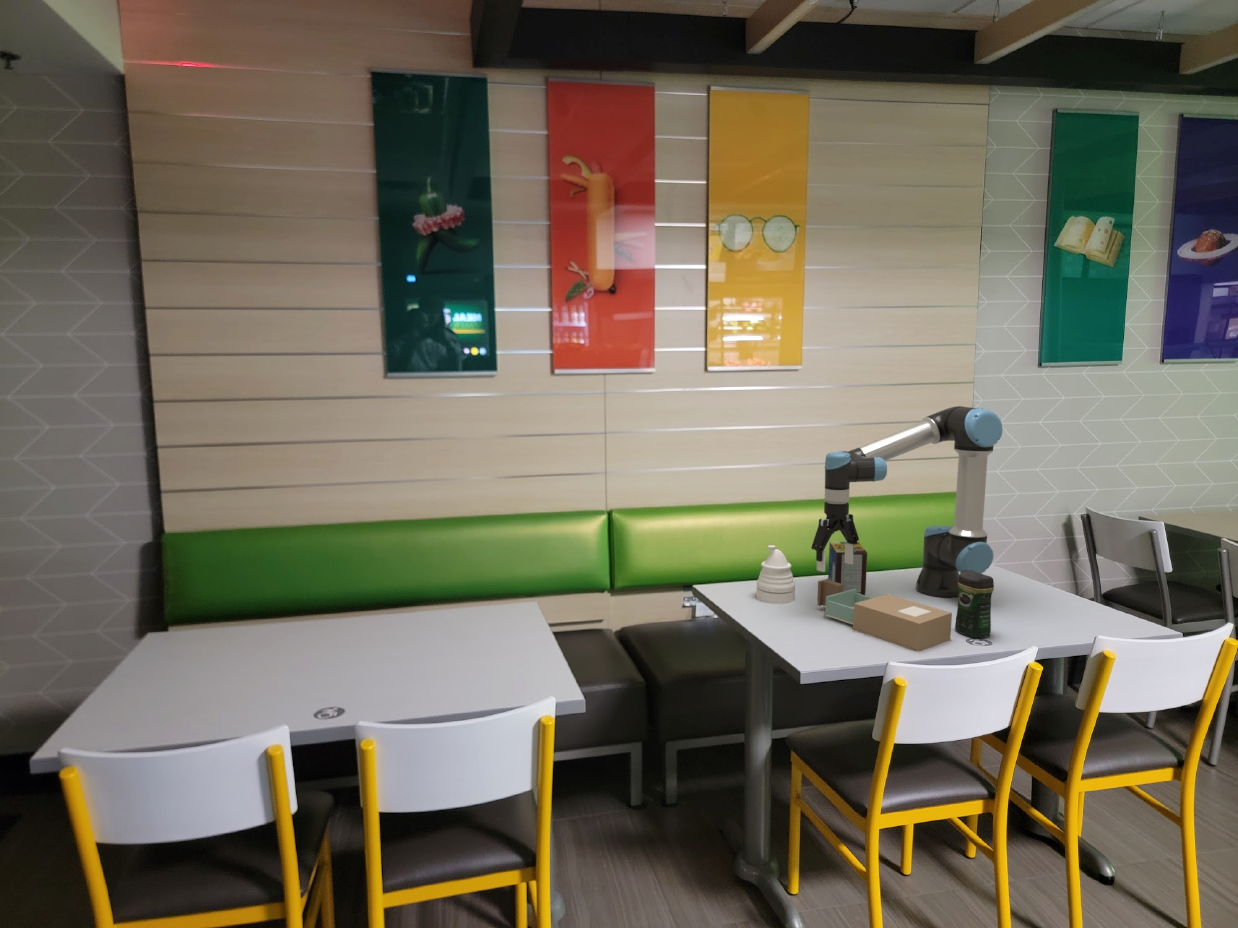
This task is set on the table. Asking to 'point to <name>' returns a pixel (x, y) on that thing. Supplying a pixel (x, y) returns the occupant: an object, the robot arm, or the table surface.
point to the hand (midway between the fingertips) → (835, 567)
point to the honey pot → (775, 579)
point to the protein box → (848, 567)
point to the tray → (838, 600)
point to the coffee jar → (974, 604)
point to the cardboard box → (902, 621)
